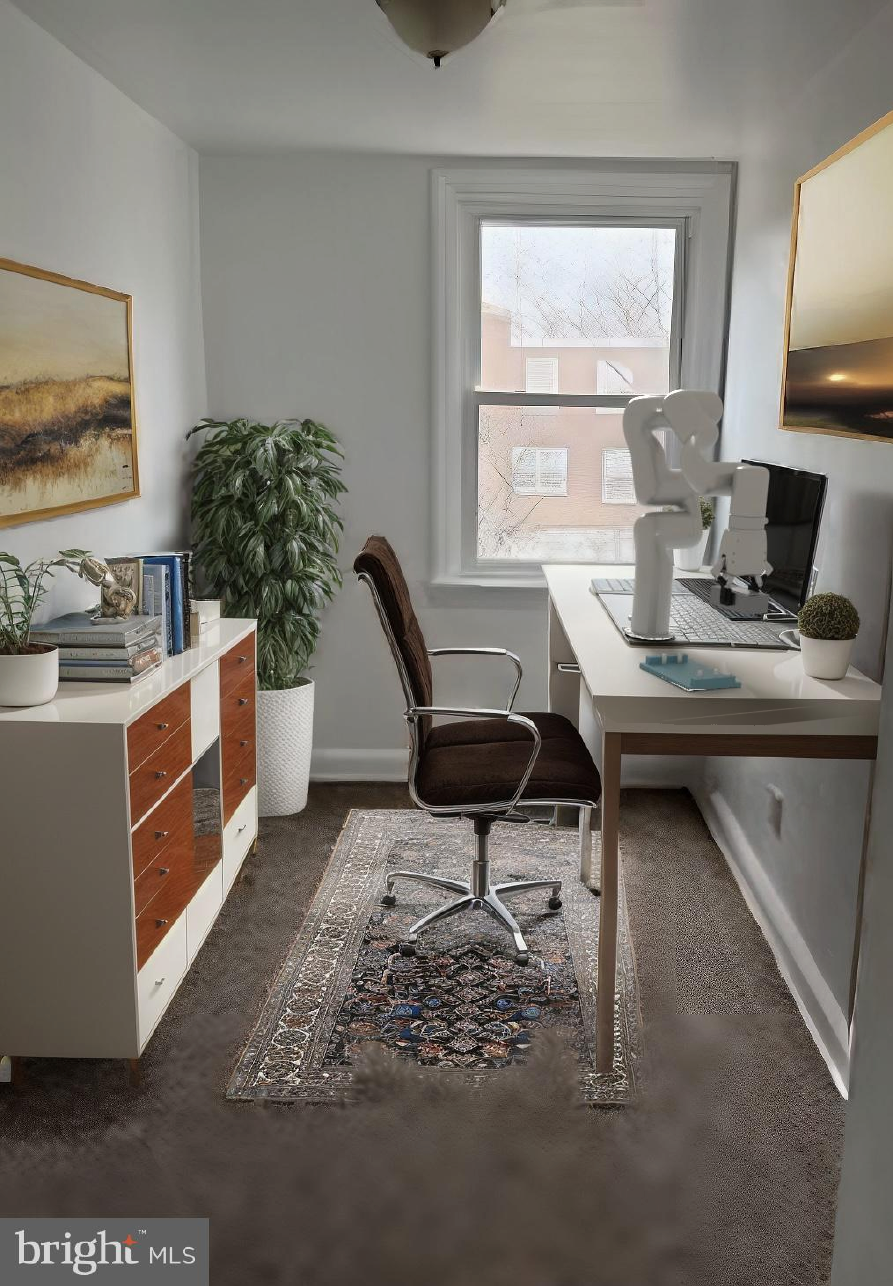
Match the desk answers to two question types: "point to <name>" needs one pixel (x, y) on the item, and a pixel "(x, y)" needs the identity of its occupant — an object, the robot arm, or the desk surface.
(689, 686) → the blue pegged tray
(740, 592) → the block
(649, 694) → the desk surface
